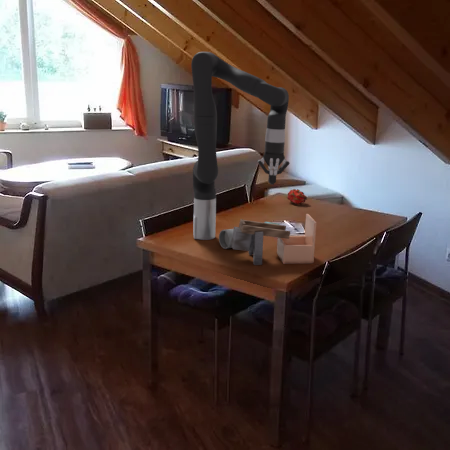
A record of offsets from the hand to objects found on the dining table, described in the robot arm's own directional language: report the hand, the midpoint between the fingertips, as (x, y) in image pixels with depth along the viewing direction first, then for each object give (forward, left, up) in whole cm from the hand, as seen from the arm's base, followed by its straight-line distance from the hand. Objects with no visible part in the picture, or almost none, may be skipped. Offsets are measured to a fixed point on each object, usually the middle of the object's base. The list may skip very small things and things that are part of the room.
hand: (271, 184), depth 219 cm
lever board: (-8, -11, -22) cm, 26 cm away
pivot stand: (-8, -15, -26) cm, 31 cm away
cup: (+7, -15, -26) cm, 31 cm away
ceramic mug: (-16, +1, -26) cm, 31 cm away
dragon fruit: (+29, +68, -26) cm, 78 cm away
